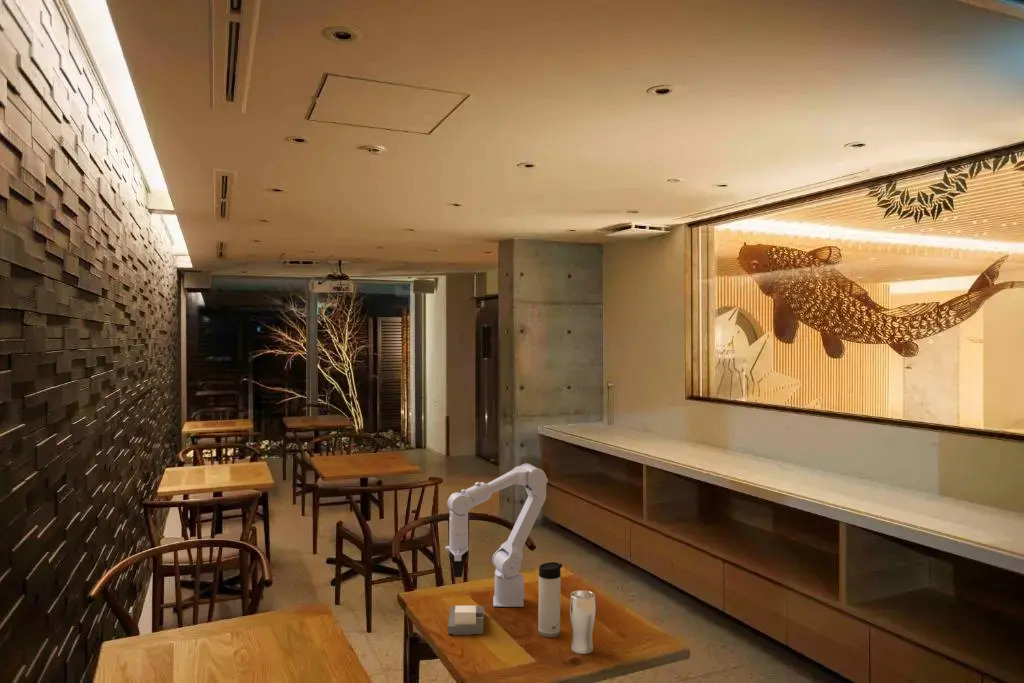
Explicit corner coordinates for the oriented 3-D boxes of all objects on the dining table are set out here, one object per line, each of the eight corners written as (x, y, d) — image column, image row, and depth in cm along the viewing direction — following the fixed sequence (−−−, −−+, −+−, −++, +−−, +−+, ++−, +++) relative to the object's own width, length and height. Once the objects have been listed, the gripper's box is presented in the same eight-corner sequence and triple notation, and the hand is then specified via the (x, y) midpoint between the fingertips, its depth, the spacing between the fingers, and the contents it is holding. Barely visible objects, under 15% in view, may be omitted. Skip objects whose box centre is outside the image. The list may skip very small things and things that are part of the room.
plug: (482, 624, 205) (482, 605, 205) (482, 631, 201) (482, 612, 200) (455, 624, 205) (455, 605, 205) (454, 631, 200) (454, 612, 200)
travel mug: (559, 638, 197) (560, 568, 197) (536, 636, 199) (537, 566, 198) (562, 629, 204) (563, 561, 203) (540, 627, 205) (540, 559, 204)
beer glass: (578, 640, 196) (579, 587, 196) (599, 648, 192) (600, 594, 191) (564, 649, 191) (564, 595, 191) (585, 657, 187) (586, 601, 186)
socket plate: (483, 614, 213) (483, 606, 213) (483, 634, 200) (483, 626, 199) (450, 614, 213) (450, 606, 213) (447, 635, 199) (447, 626, 199)
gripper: (446, 525, 223) (446, 568, 223) (444, 540, 209) (444, 585, 209) (469, 525, 223) (468, 568, 224) (468, 539, 209) (467, 585, 209)
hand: (458, 576), depth 216 cm, fingers closed
